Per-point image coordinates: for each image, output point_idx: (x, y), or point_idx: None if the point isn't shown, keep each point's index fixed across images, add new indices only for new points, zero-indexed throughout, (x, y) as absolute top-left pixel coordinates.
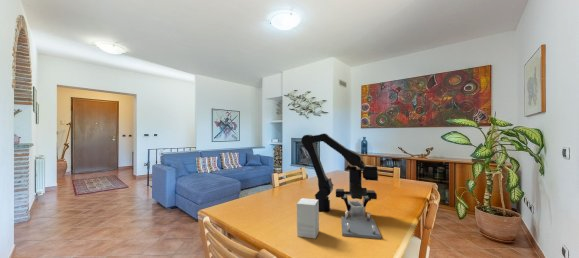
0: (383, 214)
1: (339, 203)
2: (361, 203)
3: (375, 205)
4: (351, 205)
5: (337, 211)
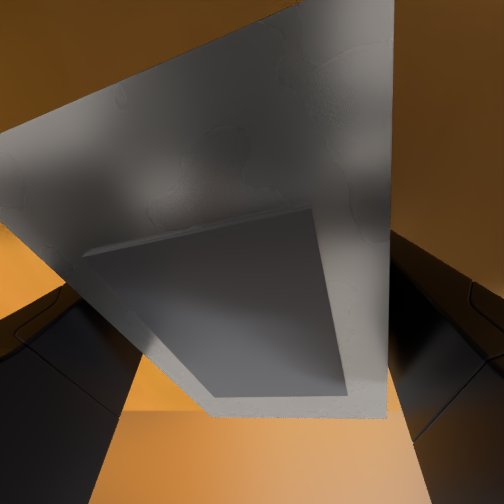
0: (8, 262)
1: (389, 393)
2: (143, 351)
3: (139, 380)
4: (362, 215)
5: (499, 248)
